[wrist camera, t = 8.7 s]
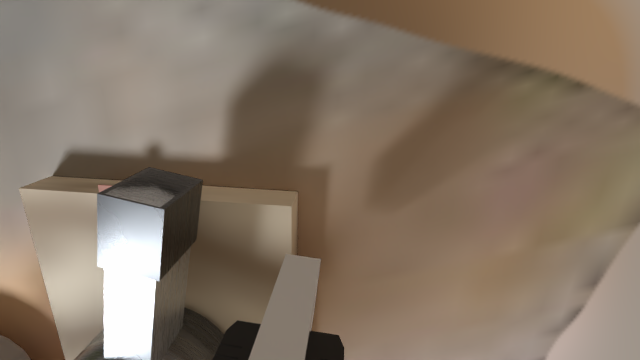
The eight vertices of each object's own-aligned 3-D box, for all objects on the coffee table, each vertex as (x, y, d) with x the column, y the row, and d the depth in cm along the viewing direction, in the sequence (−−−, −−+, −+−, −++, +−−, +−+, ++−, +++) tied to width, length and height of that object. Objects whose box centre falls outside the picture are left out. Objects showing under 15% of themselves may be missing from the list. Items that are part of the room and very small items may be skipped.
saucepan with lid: (228, 423, 21) (169, 593, 14) (103, 392, 21) (-14, 547, 14) (271, 186, 16) (210, 278, 9) (104, 146, 16) (-82, 208, 9)
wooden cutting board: (294, 450, 25) (289, 484, 23) (110, 428, 26) (90, 458, 24) (297, 182, 18) (291, 197, 16) (49, 167, 19) (14, 179, 17)
